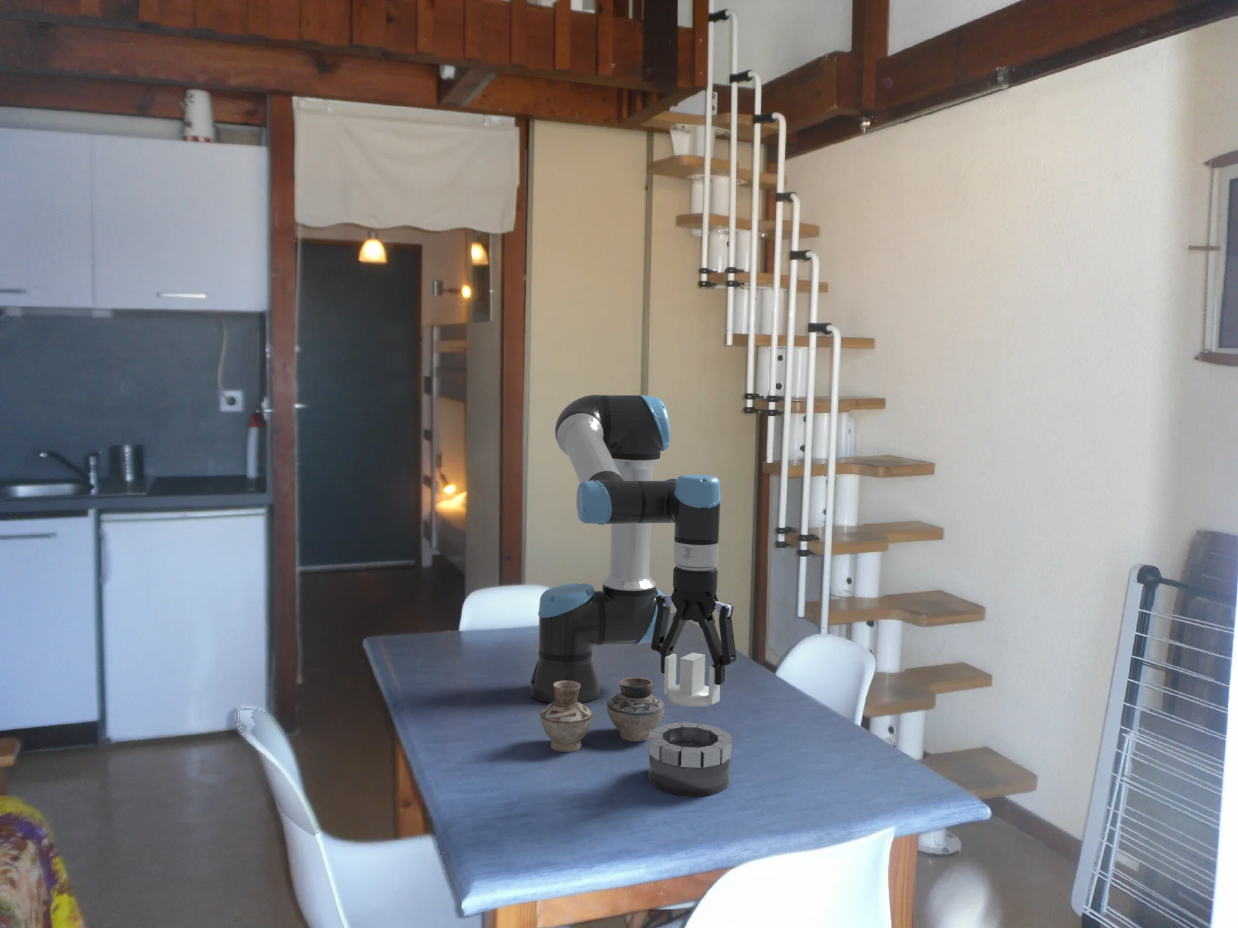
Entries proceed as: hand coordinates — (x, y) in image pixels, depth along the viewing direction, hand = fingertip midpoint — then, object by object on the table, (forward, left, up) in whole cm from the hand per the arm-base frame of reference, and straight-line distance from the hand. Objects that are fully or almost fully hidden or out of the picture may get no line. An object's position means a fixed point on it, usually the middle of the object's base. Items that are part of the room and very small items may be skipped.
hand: (691, 696), depth 172 cm
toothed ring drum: (0, 0, -15) cm, 15 cm away
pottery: (-22, +6, -15) cm, 27 cm away
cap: (0, 0, 0) cm, 0 cm away
